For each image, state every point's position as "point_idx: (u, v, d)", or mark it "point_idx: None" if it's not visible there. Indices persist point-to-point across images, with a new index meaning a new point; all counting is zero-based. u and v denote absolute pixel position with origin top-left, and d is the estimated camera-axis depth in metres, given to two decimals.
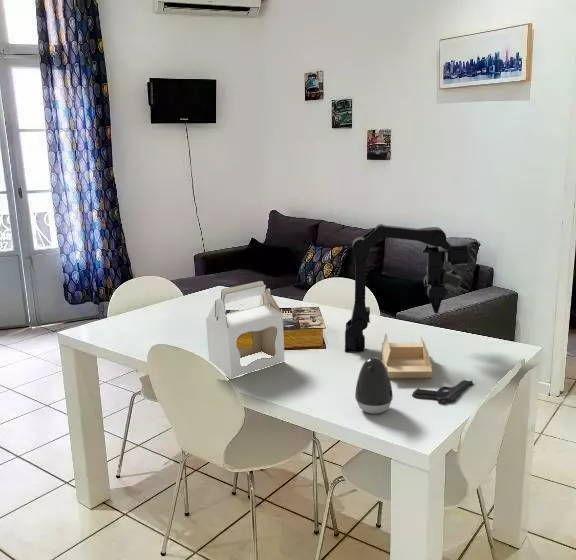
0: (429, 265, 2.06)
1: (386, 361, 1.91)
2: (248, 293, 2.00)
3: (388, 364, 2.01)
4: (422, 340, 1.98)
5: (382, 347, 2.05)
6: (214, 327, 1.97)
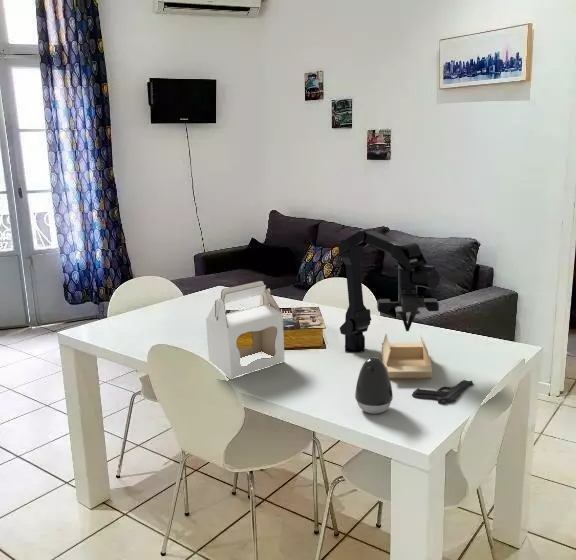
0: None
1: (386, 361, 1.91)
2: (248, 293, 2.00)
3: (388, 364, 2.01)
4: (422, 340, 1.98)
5: (382, 347, 2.05)
6: (214, 327, 1.97)
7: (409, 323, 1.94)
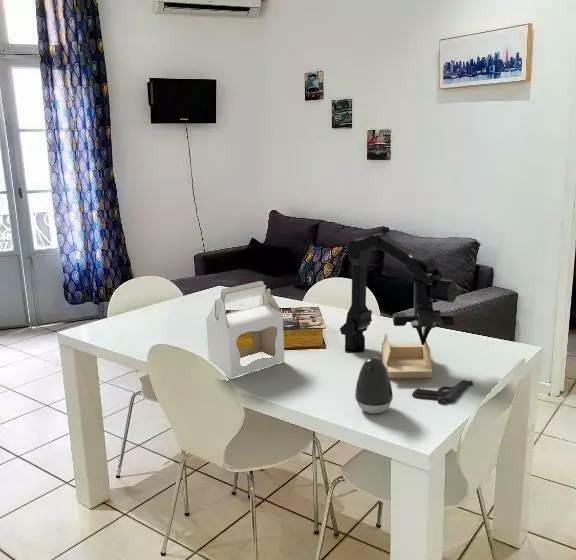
0: (414, 296, 1.93)
1: (386, 361, 1.91)
2: (248, 293, 2.00)
3: (388, 364, 2.01)
4: None
5: (382, 347, 2.05)
6: (214, 327, 1.97)
7: (424, 337, 1.95)
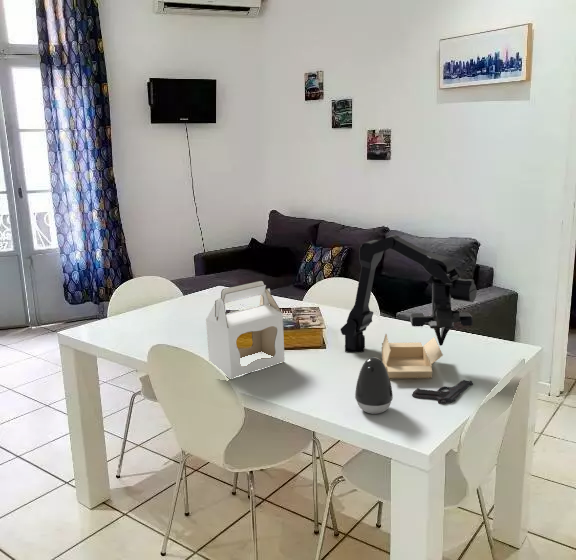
0: (432, 297, 1.93)
1: (386, 361, 1.91)
2: (248, 293, 2.00)
3: (388, 364, 2.01)
4: (437, 344, 1.98)
5: (382, 347, 2.05)
6: (214, 327, 1.97)
7: (443, 337, 1.95)
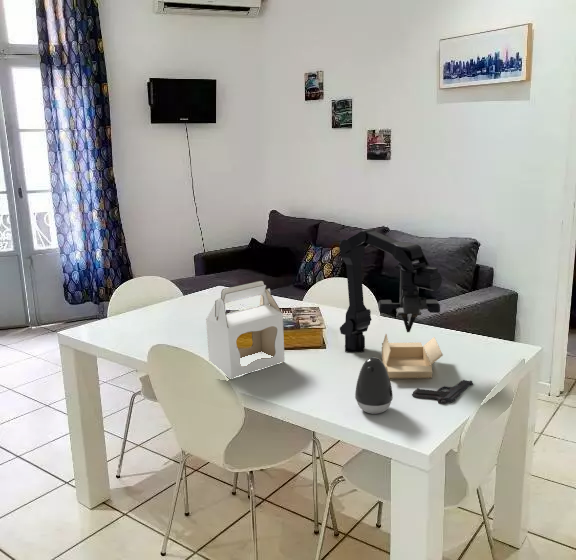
0: (400, 283, 1.93)
1: (386, 361, 1.91)
2: (248, 293, 2.00)
3: (388, 364, 2.01)
4: (437, 344, 1.98)
5: (382, 347, 2.05)
6: (214, 327, 1.97)
7: (410, 324, 1.95)
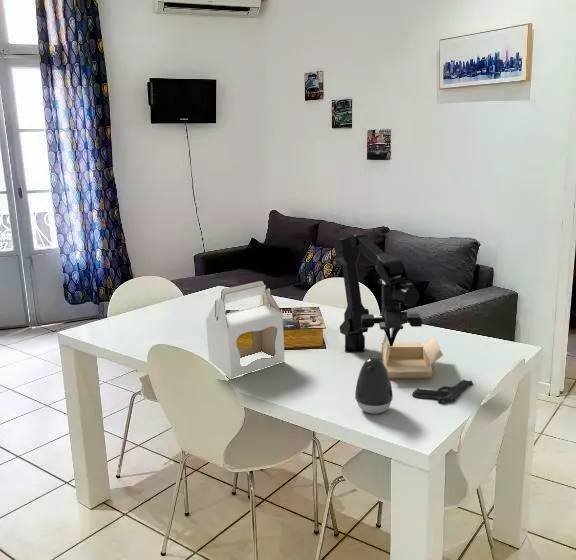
0: None
1: (386, 361, 1.91)
2: (248, 293, 2.00)
3: (388, 364, 2.01)
4: (437, 344, 1.98)
5: (382, 347, 2.05)
6: (214, 327, 1.97)
7: (393, 338, 1.96)
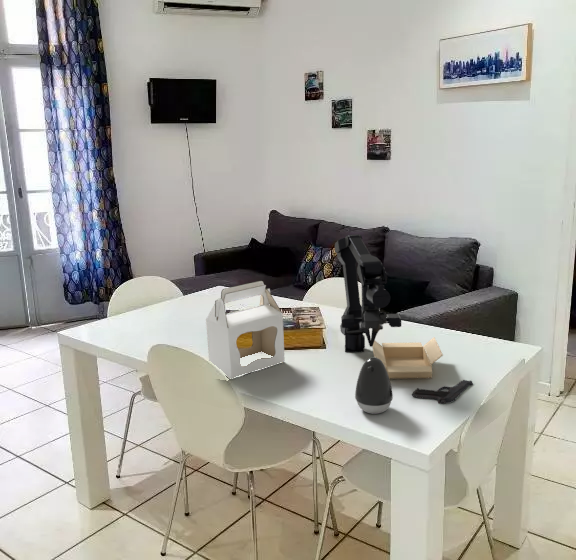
0: None
1: (383, 362, 1.91)
2: (248, 293, 2.00)
3: (388, 364, 2.01)
4: (437, 344, 1.98)
5: (381, 348, 2.05)
6: (214, 327, 1.97)
7: (372, 339, 1.96)
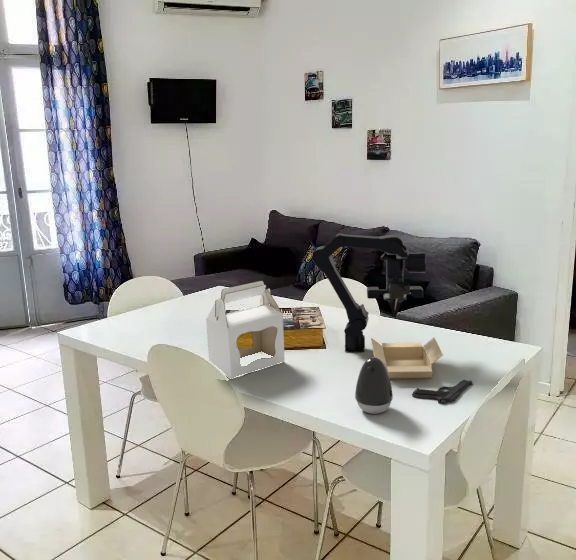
0: (387, 272, 2.07)
1: (383, 362, 1.91)
2: (248, 293, 2.00)
3: (388, 364, 2.01)
4: (437, 344, 1.98)
5: (381, 348, 2.05)
6: (214, 327, 1.97)
7: (396, 309, 2.10)
